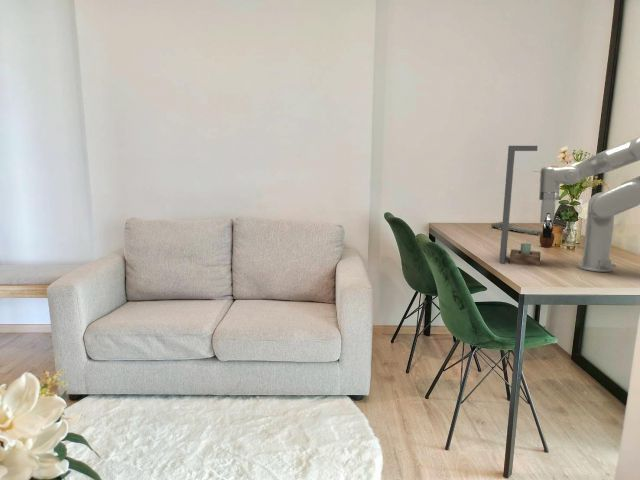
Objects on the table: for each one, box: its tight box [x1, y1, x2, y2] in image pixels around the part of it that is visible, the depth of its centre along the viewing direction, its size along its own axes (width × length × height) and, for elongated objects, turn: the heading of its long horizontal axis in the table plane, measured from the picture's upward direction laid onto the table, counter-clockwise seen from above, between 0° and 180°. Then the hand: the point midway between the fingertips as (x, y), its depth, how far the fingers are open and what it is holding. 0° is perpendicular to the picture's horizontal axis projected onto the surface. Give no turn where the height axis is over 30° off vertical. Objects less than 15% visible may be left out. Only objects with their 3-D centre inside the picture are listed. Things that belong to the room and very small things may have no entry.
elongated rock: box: [490, 221, 543, 236], centre depth 295 cm, size 35×5×10 cm
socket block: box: [508, 248, 541, 267], centre depth 211 cm, size 12×12×4 cm
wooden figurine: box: [539, 225, 555, 248], centre depth 245 cm, size 7×6×15 cm
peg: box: [520, 242, 532, 254], centre depth 210 cm, size 4×4×8 cm
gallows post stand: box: [499, 145, 538, 264], centre depth 208 cm, size 11×16×50 cm
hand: (546, 236), depth 206 cm, fingers open, 9 cm apart
